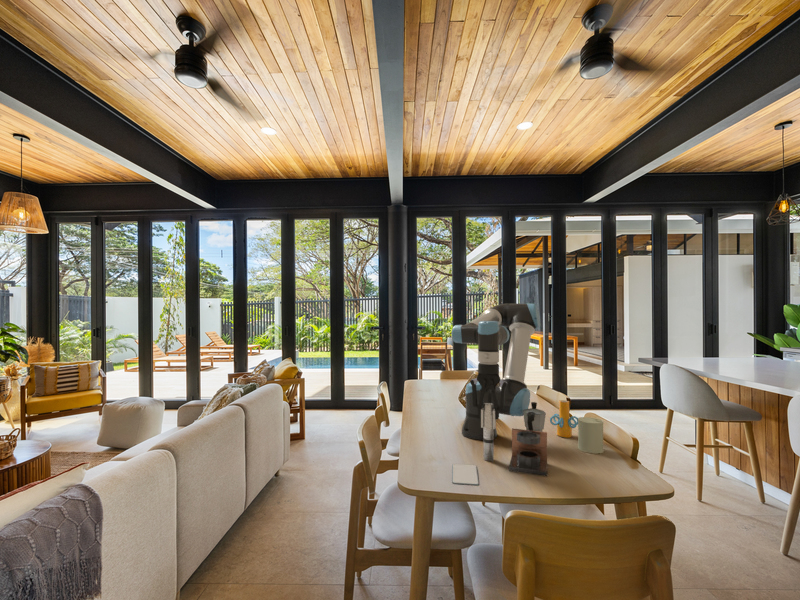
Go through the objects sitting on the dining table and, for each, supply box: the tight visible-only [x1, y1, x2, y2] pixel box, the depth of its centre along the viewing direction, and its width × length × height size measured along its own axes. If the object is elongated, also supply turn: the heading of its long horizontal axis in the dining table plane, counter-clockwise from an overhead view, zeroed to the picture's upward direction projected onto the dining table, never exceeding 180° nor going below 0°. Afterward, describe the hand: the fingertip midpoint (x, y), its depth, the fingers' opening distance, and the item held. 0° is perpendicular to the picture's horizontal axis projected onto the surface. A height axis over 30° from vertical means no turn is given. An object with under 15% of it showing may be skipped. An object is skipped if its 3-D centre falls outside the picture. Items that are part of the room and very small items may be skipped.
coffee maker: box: [523, 401, 547, 432], centre depth 153 cm, size 15×9×18 cm, turn 149°
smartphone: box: [451, 463, 480, 487], centre depth 128 cm, size 8×1×15 cm
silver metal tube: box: [482, 403, 495, 462], centre depth 142 cm, size 4×4×20 cm
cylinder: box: [549, 399, 579, 439], centre depth 170 cm, size 12×10×15 cm
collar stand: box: [508, 428, 548, 477], centre depth 135 cm, size 12×12×11 cm
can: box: [577, 416, 605, 455], centre depth 153 cm, size 9×9×12 cm
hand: (488, 427), depth 142 cm, fingers closed on silver metal tube, 3 cm apart
